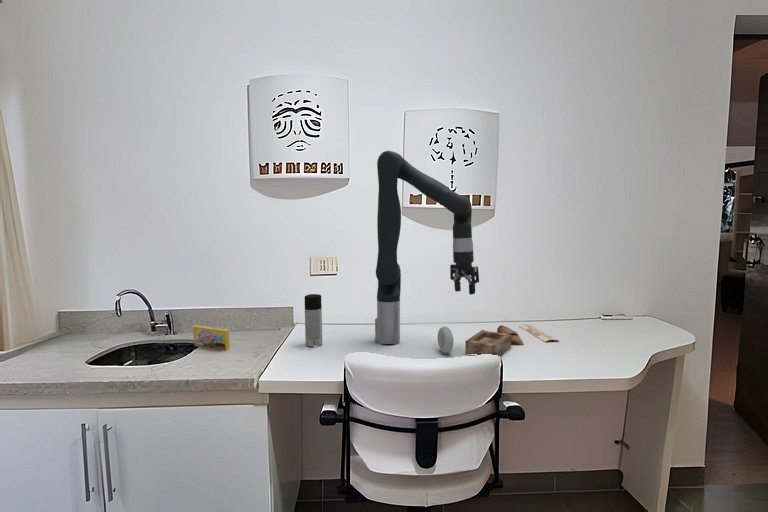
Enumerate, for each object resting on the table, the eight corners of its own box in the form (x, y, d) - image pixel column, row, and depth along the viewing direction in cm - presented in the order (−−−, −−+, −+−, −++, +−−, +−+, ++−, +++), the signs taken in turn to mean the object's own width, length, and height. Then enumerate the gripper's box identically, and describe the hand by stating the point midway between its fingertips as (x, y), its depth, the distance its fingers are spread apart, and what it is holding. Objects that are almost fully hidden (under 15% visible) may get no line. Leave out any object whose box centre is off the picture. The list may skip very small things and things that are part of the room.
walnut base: (465, 354, 166) (465, 341, 166) (481, 342, 181) (481, 329, 180) (496, 360, 160) (497, 346, 159) (511, 347, 174) (511, 334, 174)
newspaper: (559, 343, 181) (559, 339, 181) (542, 344, 180) (542, 340, 180) (531, 327, 204) (531, 323, 204) (516, 328, 203) (516, 324, 203)
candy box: (193, 346, 177) (192, 326, 176) (197, 345, 179) (196, 324, 178) (226, 351, 171) (225, 330, 170) (230, 349, 173) (229, 328, 172)
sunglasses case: (526, 345, 176) (517, 331, 175) (510, 354, 177) (501, 339, 176) (516, 332, 194) (508, 319, 193) (502, 340, 195) (494, 327, 194)
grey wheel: (454, 356, 164) (455, 330, 163) (445, 357, 163) (446, 330, 162) (444, 348, 173) (444, 323, 172) (435, 349, 173) (436, 323, 171)
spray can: (325, 343, 180) (324, 294, 177) (316, 348, 173) (315, 297, 171) (311, 341, 182) (310, 293, 180) (302, 346, 176) (300, 296, 174)
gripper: (443, 250, 173) (445, 291, 174) (467, 251, 160) (469, 296, 161) (459, 248, 176) (461, 289, 177) (483, 249, 164) (485, 293, 165)
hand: (464, 292), depth 169 cm, fingers open, 8 cm apart
